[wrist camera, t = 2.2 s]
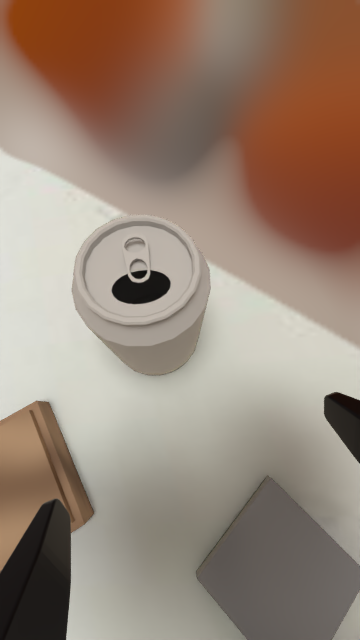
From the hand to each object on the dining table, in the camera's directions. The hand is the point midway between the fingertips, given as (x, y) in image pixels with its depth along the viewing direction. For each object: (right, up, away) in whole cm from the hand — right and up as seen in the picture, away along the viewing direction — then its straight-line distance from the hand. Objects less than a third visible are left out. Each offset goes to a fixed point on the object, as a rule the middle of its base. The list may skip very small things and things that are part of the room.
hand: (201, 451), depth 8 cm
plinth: (-13, -8, +11) cm, 19 cm away
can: (-3, +3, +16) cm, 16 cm away
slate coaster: (+6, -13, +10) cm, 17 cm away
